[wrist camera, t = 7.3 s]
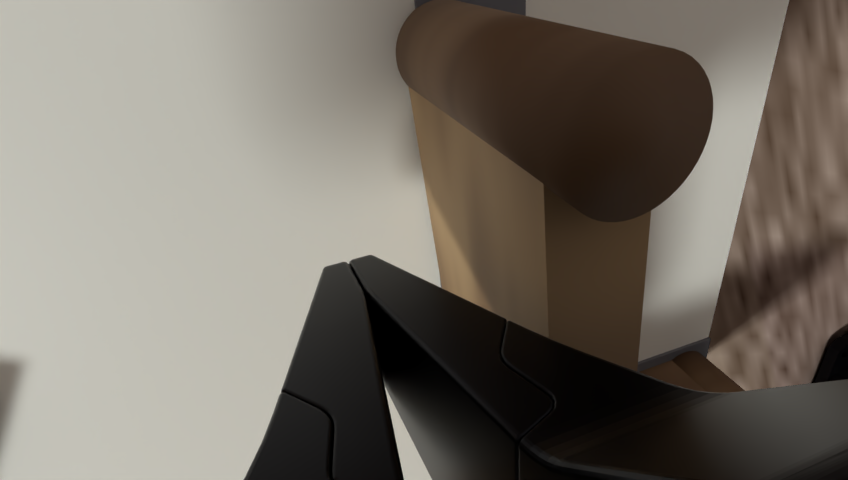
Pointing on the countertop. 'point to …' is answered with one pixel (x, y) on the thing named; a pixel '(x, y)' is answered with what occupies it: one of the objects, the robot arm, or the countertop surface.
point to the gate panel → (549, 164)
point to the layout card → (265, 208)
